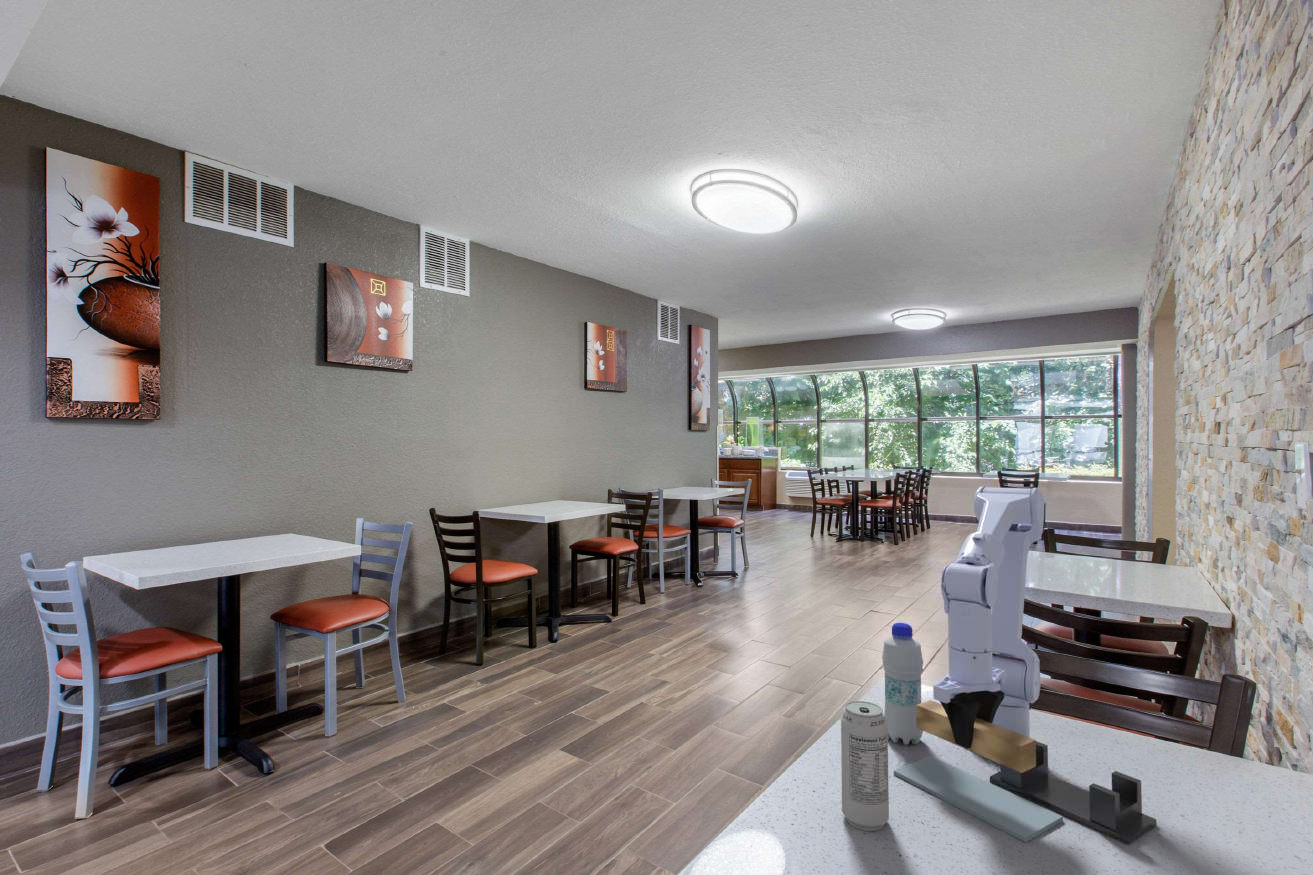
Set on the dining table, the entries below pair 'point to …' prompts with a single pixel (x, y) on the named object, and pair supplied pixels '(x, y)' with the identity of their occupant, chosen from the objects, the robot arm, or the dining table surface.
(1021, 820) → the mat
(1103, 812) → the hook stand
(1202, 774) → the dining table surface
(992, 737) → the oak rail
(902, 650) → the bottle
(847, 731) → the energy drink can
